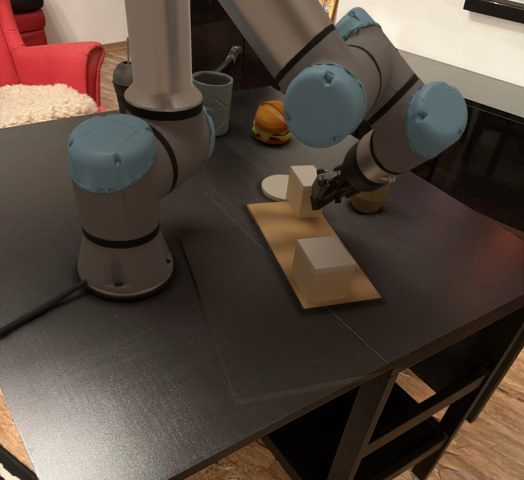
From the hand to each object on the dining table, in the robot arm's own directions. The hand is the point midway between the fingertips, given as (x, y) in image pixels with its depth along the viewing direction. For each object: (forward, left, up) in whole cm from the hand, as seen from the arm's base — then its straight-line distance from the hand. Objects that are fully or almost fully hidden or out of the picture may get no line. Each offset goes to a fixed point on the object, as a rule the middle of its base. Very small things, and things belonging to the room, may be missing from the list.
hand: (314, 203), depth 92 cm
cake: (-15, -14, -4) cm, 21 cm away
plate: (+7, +12, -5) cm, 15 cm away
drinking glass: (+15, +45, -5) cm, 48 cm away
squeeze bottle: (+16, -3, -5) cm, 17 cm away
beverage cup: (-3, +53, -5) cm, 54 cm away
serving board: (-7, -5, -5) cm, 10 cm away
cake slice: (+3, +4, -4) cm, 7 cm away
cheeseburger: (+24, +32, -5) cm, 40 cm away
